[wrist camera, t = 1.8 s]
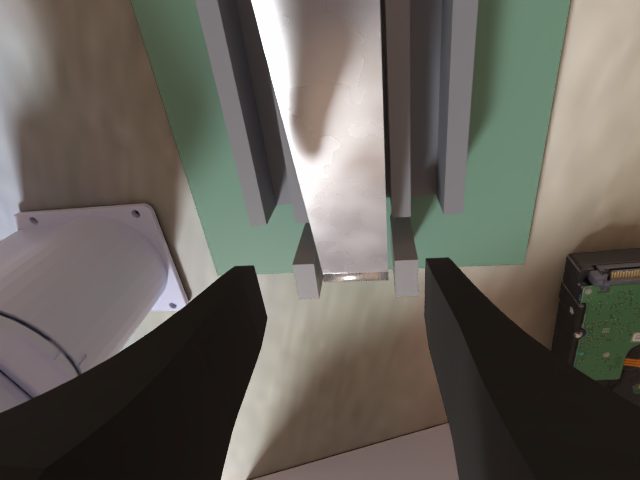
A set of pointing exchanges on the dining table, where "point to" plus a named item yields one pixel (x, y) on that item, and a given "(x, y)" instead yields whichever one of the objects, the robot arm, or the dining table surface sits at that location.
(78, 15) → the dining table surface
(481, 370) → the robot arm
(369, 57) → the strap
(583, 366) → the disk drive
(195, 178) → the board
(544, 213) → the dining table surface
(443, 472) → the game console
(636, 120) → the dining table surface
